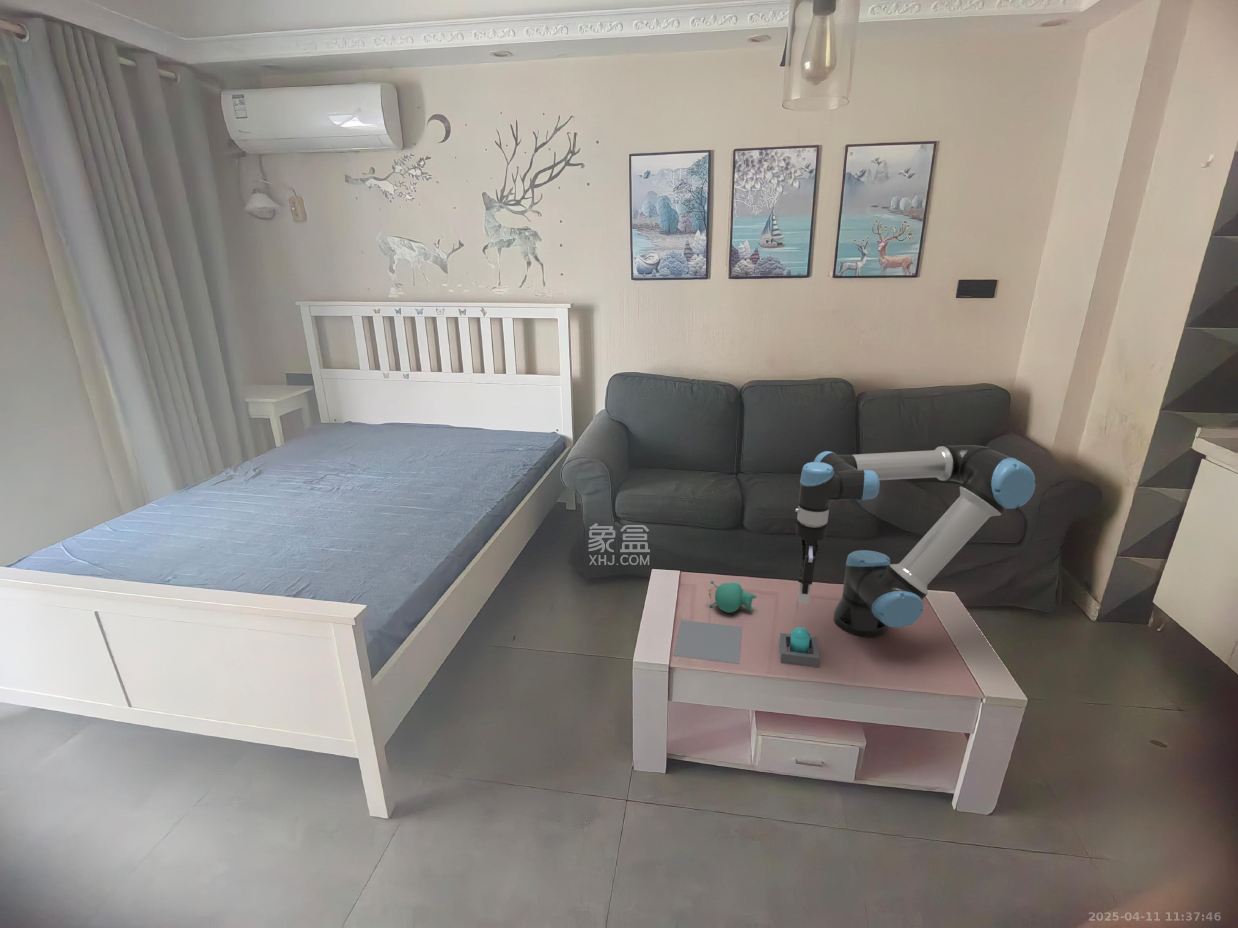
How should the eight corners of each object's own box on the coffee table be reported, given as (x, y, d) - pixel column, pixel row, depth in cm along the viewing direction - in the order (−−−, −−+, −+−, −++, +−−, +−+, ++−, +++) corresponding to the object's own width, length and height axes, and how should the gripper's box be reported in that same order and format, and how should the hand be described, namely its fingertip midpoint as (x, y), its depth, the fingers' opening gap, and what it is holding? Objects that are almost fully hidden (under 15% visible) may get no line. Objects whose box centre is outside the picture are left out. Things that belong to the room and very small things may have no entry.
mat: (741, 627, 184) (741, 626, 183) (739, 664, 167) (739, 663, 167) (681, 620, 187) (681, 619, 187) (673, 656, 171) (673, 655, 170)
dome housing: (815, 645, 175) (816, 636, 174) (818, 667, 165) (819, 658, 164) (779, 641, 177) (780, 632, 176) (780, 663, 167) (781, 653, 166)
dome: (807, 645, 172) (809, 624, 170) (808, 656, 168) (811, 634, 165) (789, 643, 173) (791, 622, 171) (790, 653, 169) (792, 632, 166)
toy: (759, 588, 195) (713, 574, 199) (757, 587, 185) (709, 573, 190) (751, 619, 193) (705, 604, 198) (749, 620, 184) (701, 605, 189)
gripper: (795, 510, 165) (787, 588, 172) (798, 530, 153) (789, 613, 160) (824, 513, 163) (815, 591, 171) (829, 533, 151) (819, 616, 159)
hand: (803, 601), depth 166 cm, fingers closed
